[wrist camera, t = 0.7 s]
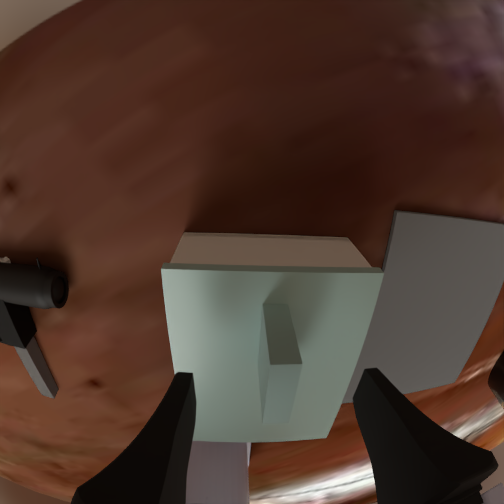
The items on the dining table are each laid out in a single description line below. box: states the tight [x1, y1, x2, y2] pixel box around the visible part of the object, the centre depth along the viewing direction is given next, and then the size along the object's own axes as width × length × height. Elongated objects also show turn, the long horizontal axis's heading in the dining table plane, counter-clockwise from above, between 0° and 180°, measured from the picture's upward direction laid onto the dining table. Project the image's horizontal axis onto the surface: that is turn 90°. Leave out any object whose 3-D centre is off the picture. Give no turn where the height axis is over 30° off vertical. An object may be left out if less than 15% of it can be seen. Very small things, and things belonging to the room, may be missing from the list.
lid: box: [161, 263, 384, 442], centre depth 15 cm, size 14×10×6 cm
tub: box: [170, 232, 371, 267], centre depth 19 cm, size 14×10×4 cm
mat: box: [342, 210, 504, 403], centre depth 22 cm, size 18×14×1 cm
